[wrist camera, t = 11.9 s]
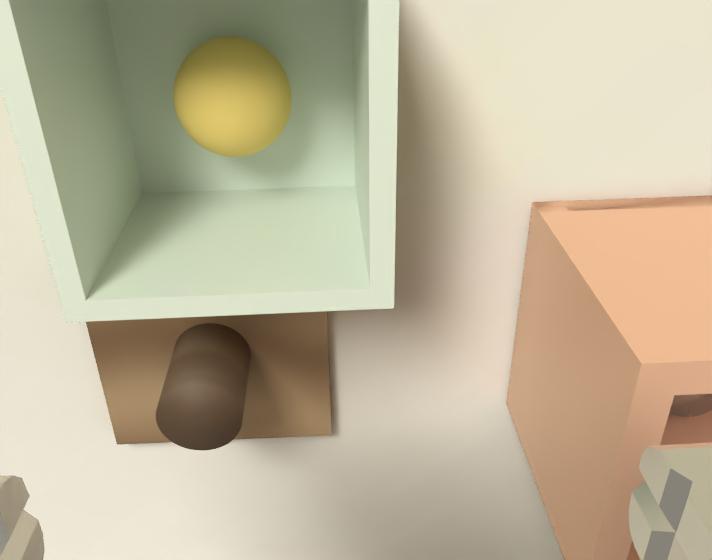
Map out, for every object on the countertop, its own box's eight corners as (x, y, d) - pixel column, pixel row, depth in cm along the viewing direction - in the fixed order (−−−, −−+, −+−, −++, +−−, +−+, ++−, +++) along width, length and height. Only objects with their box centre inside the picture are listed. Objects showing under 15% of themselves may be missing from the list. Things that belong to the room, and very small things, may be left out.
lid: (330, 418, 29) (333, 503, 25) (123, 427, 28) (92, 514, 24) (324, 235, 24) (326, 304, 20) (78, 243, 24) (32, 314, 20)
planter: (720, 393, 28) (874, 587, 21) (506, 403, 28) (580, 604, 20) (787, 192, 24) (1017, 345, 16) (532, 202, 23) (641, 364, 16)
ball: (296, 133, 21) (293, 172, 18) (191, 136, 21) (173, 176, 18) (289, 24, 19) (285, 49, 17) (175, 27, 19) (153, 52, 17)
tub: (372, 194, 23) (393, 308, 17) (131, 203, 23) (66, 322, 17) (371, -74, 19) (400, -50, 13) (76, -68, 19) (-35, -40, 13)
